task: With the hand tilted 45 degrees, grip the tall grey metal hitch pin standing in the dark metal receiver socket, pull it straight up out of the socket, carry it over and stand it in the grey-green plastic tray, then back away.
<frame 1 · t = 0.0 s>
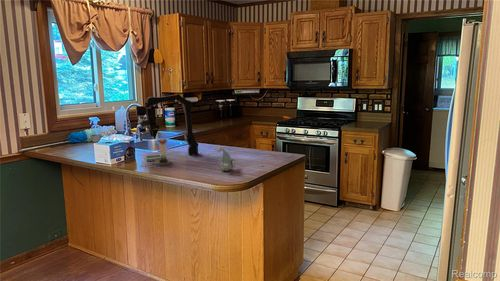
hand: (153, 137, 254), 15 cm above the table, tool pointing down, fingers open, 9 cm apart
receiver socket: (163, 163, 239), on the table
hitch pin: (163, 152, 238), in the receiver socket
tray: (155, 159, 254), on the table
toy figure: (226, 170, 221), on the table
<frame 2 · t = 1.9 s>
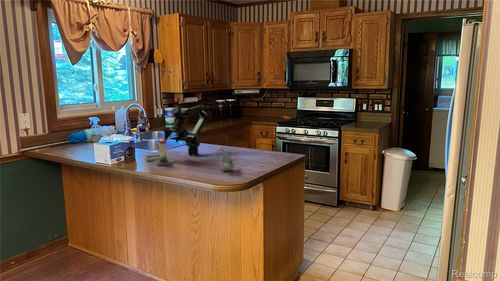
hand: (170, 141, 244), 13 cm above the table, tool tilted 45°, fingers open, 9 cm apart
nothing on the table moved.
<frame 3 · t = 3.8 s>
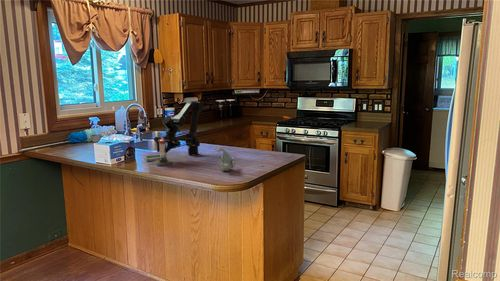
hand: (161, 152, 237), 8 cm above the table, tool tilted 45°, fingers open, 6 cm apart
hitch pin: (163, 152, 238), in the receiver socket, touching gripper
everything else where it was.
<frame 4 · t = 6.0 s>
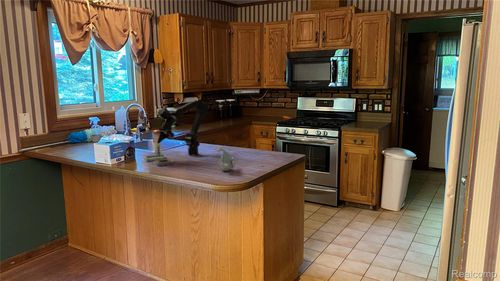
hand: (155, 142, 242), 13 cm above the table, tool tilted 45°, fingers closed on hitch pin, 4 cm apart
hitch pin: (157, 142, 243), point 13 cm above the table, touching gripper
everything else where it was.
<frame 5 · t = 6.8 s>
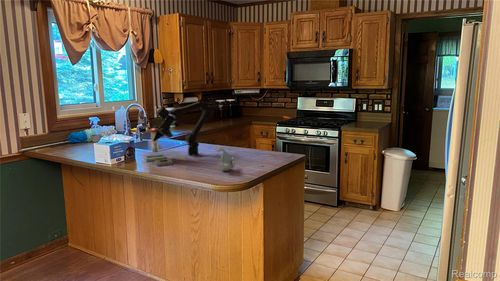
hand: (152, 140, 251), 13 cm above the table, tool tilted 45°, fingers closed on hitch pin, 4 cm apart
hitch pin: (154, 140, 251), point 13 cm above the table, touching gripper
everything else where it was.
when the fingers open (10 cm above the table, at t = 7.7 s): hitch pin drops 1 cm, resting on tray.
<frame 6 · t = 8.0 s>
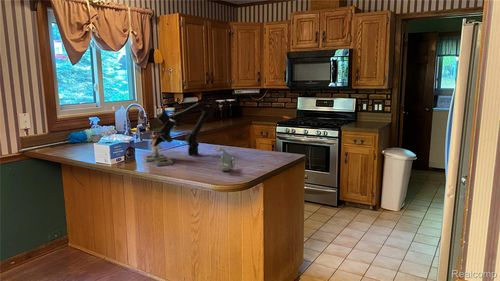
hand: (152, 145, 251), 10 cm above the table, tool tilted 45°, fingers open, 8 cm apart
hitch pin: (155, 146, 253), in the tray
everything else where it was.
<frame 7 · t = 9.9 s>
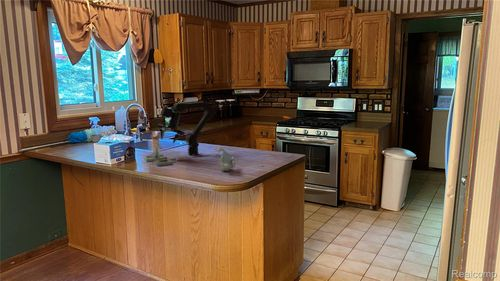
hand: (167, 141, 256), 12 cm above the table, tool tilted 20°, fingers open, 9 cm apart
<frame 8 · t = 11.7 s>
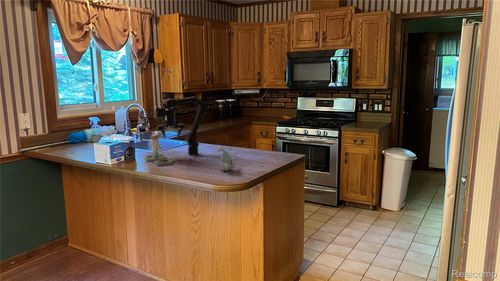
hand: (171, 139, 257), 13 cm above the table, tool pointing down, fingers open, 9 cm apart
nothing on the table moved.
at the end: hitch pin inside the target area on the tray (0.6 cm from its centre), point 8.6 cm above the tray's base; the gripper is holding nothing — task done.
